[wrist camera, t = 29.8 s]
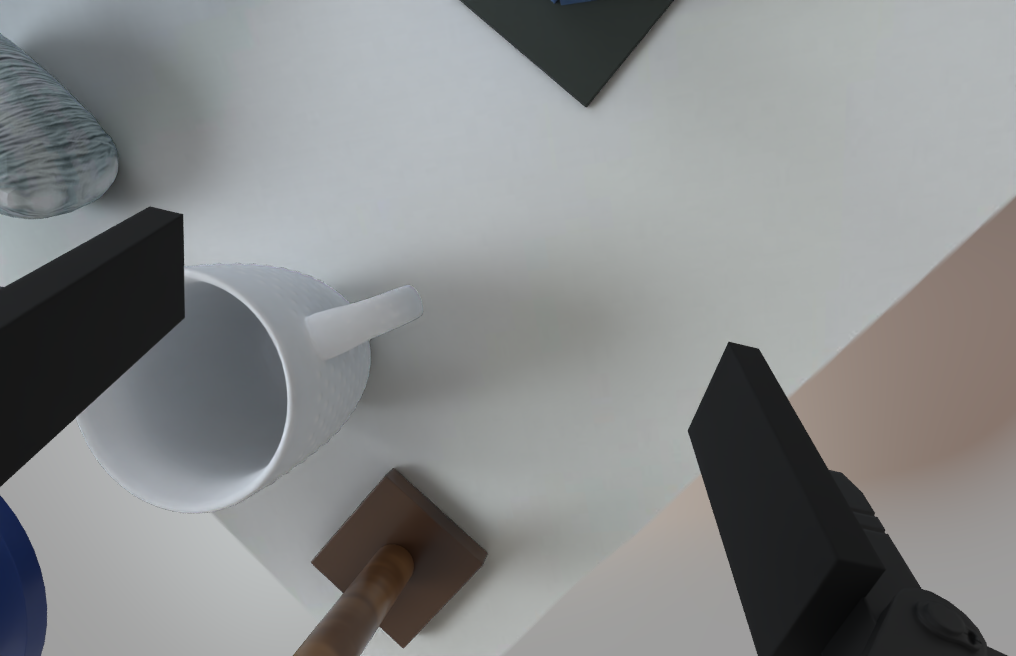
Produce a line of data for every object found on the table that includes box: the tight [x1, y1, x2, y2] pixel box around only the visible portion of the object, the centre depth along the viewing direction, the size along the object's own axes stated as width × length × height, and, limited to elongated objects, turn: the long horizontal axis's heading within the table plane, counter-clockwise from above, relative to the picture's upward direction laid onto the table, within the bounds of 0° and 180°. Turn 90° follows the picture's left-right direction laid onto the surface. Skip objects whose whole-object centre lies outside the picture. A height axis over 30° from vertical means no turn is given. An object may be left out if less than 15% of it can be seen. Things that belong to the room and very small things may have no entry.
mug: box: [76, 263, 423, 513], centre depth 34 cm, size 15×11×13 cm
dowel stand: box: [293, 468, 488, 656], centre depth 34 cm, size 8×8×14 cm
